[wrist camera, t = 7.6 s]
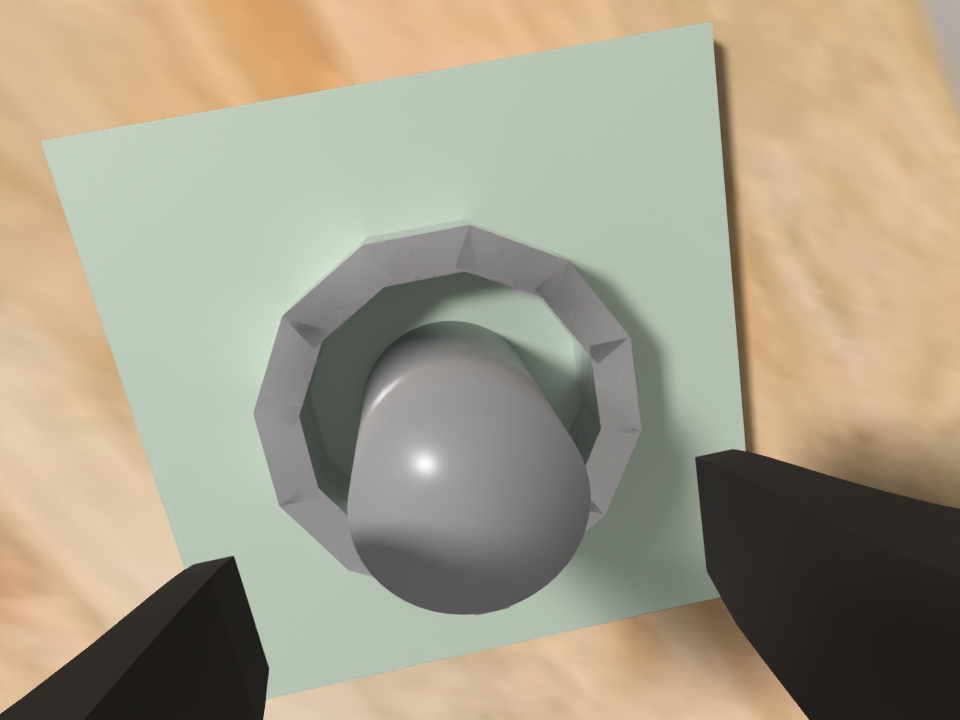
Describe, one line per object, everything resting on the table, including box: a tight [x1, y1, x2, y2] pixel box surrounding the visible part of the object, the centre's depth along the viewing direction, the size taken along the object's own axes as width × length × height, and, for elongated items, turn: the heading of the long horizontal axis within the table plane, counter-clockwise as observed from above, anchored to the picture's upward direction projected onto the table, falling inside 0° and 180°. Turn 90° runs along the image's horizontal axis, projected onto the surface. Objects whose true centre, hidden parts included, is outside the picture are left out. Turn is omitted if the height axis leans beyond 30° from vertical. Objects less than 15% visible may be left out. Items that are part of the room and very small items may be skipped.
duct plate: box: [41, 21, 746, 699], centre depth 19 cm, size 16×16×1 cm
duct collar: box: [253, 219, 642, 577], centre depth 18 cm, size 9×9×2 cm
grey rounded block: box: [347, 321, 591, 616], centre depth 16 cm, size 4×5×6 cm
